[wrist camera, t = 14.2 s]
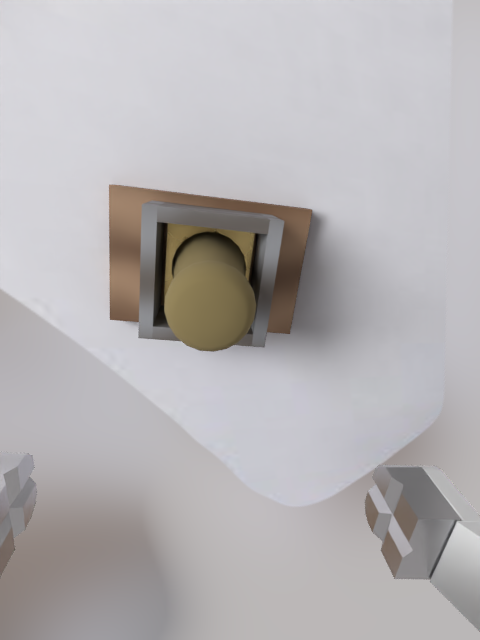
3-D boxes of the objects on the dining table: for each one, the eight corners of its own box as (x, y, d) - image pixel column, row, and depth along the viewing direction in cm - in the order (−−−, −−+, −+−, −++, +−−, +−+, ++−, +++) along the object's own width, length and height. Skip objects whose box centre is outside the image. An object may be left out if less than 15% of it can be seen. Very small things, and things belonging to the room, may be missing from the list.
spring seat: (169, 220, 28) (167, 221, 28) (253, 230, 29) (255, 231, 28) (164, 301, 31) (163, 305, 30) (243, 308, 32) (244, 312, 31)
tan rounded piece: (245, 229, 28) (267, 257, 18) (247, 302, 30) (267, 364, 20) (167, 233, 28) (145, 263, 18) (175, 306, 30) (159, 371, 20)
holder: (113, 184, 29) (89, 185, 23) (307, 208, 31) (332, 215, 25) (114, 313, 32) (93, 343, 26) (286, 327, 34) (303, 358, 28)
